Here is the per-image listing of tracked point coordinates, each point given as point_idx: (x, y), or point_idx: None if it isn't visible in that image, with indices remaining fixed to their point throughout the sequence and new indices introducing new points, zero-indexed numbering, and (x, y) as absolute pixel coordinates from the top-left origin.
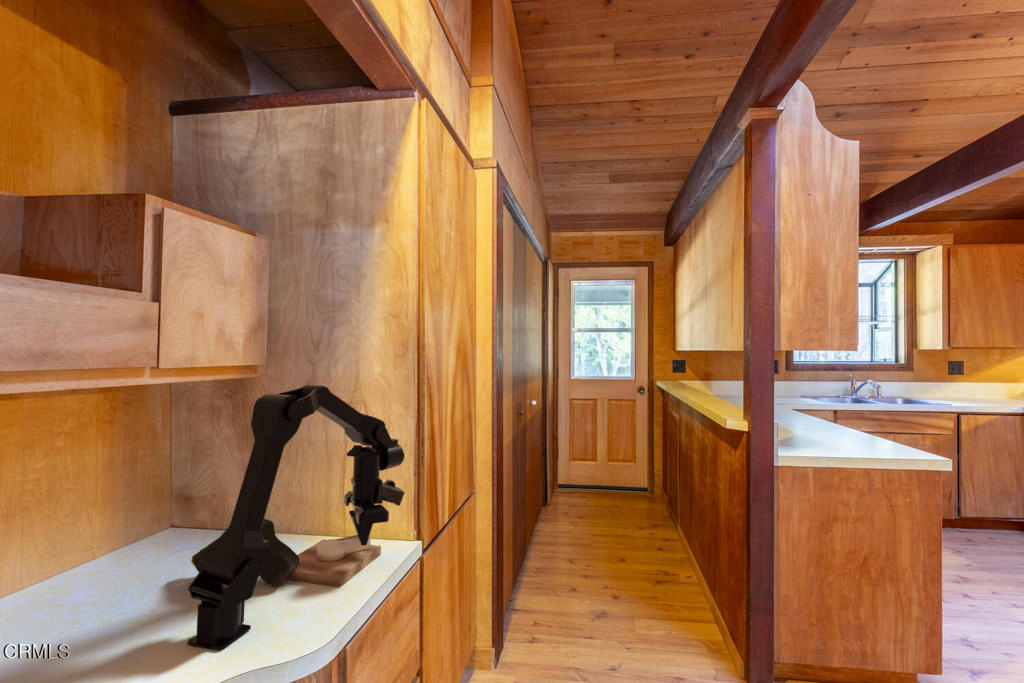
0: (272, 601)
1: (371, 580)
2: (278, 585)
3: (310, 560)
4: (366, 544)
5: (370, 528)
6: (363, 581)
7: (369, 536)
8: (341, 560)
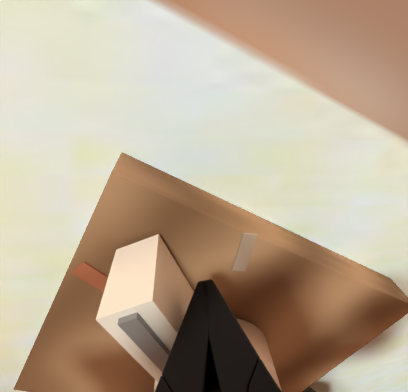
0: (369, 375)
1: (402, 192)
2: (309, 387)
3: None
4: (211, 279)
5: (278, 389)
6: (391, 219)
7: (157, 296)
8: (265, 319)
